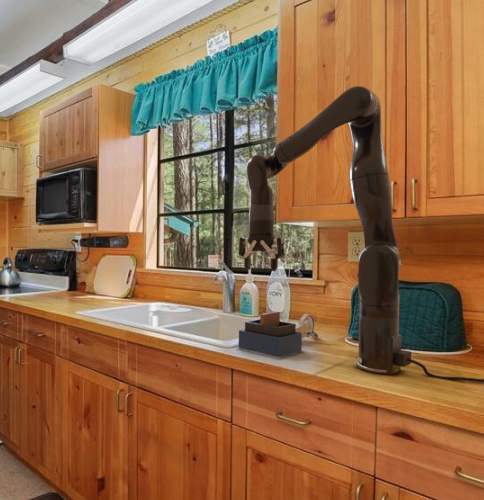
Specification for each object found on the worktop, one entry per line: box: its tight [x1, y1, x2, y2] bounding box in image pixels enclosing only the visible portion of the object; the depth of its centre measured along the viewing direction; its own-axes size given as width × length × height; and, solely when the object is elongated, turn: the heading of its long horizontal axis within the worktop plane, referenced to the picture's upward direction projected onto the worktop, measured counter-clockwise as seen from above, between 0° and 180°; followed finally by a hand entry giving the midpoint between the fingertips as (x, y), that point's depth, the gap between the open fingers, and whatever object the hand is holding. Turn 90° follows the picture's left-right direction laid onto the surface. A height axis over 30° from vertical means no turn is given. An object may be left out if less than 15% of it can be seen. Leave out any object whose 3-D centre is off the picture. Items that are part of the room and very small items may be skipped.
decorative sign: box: [296, 313, 319, 340], centre depth 145 cm, size 18×1×10 cm, turn 129°
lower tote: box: [238, 328, 303, 358], centre depth 133 cm, size 14×12×6 cm
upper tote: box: [244, 311, 297, 338], centre depth 133 cm, size 12×10×11 cm
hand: (260, 270), depth 138 cm, fingers open, 8 cm apart
